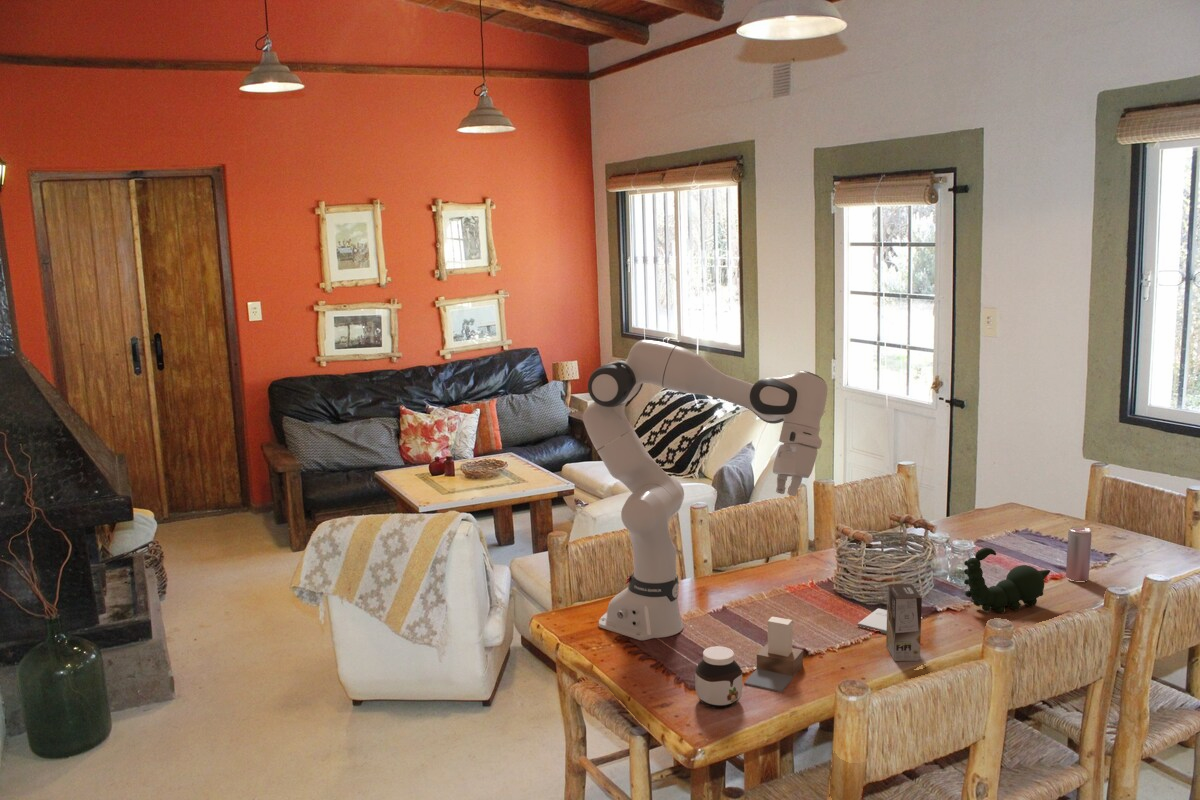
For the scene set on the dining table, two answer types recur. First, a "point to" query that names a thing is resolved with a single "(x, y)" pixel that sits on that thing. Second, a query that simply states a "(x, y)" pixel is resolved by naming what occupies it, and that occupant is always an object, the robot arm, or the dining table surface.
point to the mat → (768, 680)
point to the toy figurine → (1003, 585)
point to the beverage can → (1078, 553)
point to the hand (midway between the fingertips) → (785, 494)
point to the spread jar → (718, 678)
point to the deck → (780, 661)
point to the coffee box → (903, 622)
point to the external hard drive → (876, 621)
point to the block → (780, 636)
